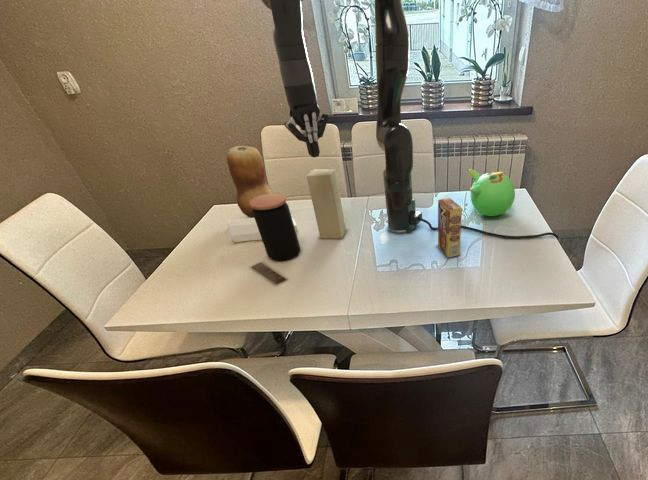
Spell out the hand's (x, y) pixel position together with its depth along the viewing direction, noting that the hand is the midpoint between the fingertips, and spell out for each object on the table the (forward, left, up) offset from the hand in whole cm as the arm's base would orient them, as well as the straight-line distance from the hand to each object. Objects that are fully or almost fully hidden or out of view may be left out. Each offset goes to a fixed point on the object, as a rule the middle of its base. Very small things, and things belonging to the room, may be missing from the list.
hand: (314, 156), depth 105 cm
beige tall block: (+7, -10, -29) cm, 32 cm away
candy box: (-36, -12, -29) cm, 48 cm away
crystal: (+30, 0, -29) cm, 42 cm away
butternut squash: (+43, -13, -29) cm, 54 cm away
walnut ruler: (+12, +20, -29) cm, 37 cm away
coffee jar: (+15, +8, -29) cm, 33 cm away
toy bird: (-40, -44, -29) cm, 66 cm away
